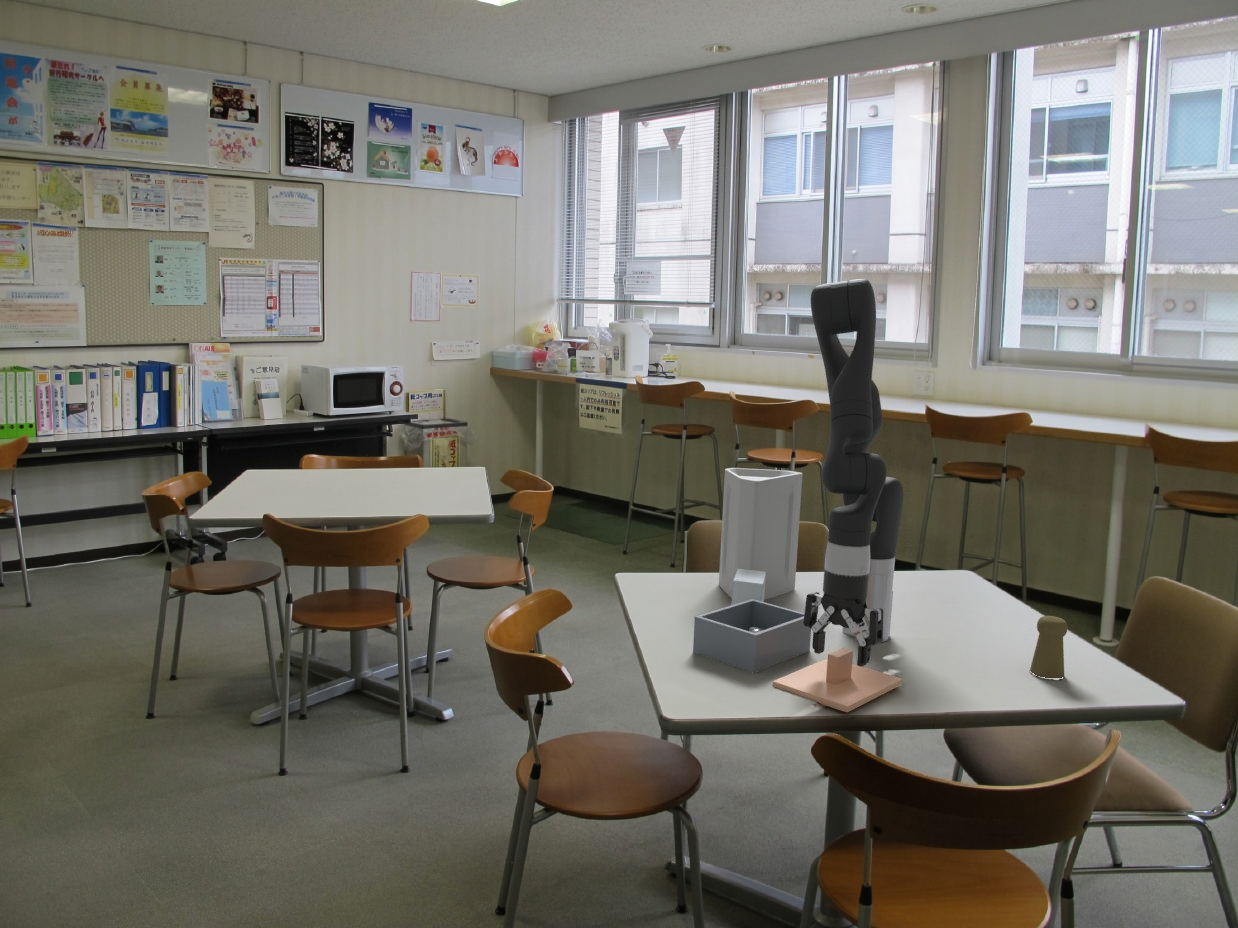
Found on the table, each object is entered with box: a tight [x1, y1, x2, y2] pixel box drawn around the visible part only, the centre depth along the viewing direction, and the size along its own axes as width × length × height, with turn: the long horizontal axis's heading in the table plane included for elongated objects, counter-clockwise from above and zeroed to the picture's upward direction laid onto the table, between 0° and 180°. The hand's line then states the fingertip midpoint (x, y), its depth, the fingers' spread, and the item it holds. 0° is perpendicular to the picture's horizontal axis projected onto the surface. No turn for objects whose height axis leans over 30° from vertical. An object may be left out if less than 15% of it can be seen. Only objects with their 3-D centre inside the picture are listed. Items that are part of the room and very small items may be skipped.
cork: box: [1029, 615, 1068, 678], centre depth 185 cm, size 6×6×11 cm
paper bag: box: [718, 467, 803, 601], centre depth 233 cm, size 19×15×28 cm
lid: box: [772, 647, 904, 713], centre depth 174 cm, size 19×15×7 cm
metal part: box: [749, 627, 764, 633], centre depth 193 cm, size 3×3×3 cm
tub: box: [692, 599, 812, 674], centre depth 189 cm, size 18×14×8 cm
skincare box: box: [730, 569, 766, 606], centre depth 209 cm, size 10×6×10 cm, turn 168°
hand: (840, 658), depth 173 cm, fingers open, 8 cm apart
